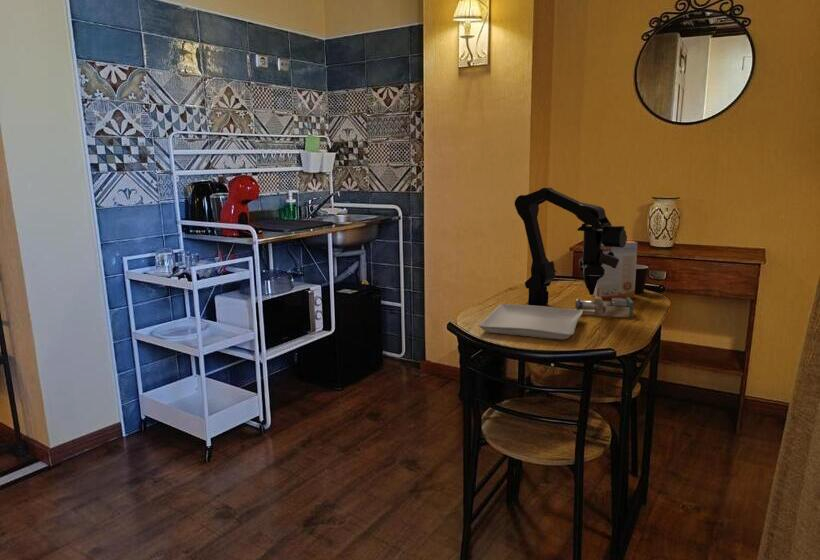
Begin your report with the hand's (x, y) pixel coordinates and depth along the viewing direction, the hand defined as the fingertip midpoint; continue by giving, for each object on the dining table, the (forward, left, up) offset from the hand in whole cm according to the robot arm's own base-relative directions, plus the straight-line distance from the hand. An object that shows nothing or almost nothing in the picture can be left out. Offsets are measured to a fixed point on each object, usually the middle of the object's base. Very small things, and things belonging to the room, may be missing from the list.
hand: (589, 291), depth 190 cm
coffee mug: (+20, +36, -8) cm, 42 cm away
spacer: (+9, 0, -6) cm, 12 cm away
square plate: (-19, -19, -8) cm, 28 cm away
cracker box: (+11, +25, -8) cm, 29 cm away
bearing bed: (+3, 0, -7) cm, 8 cm away
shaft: (+2, 0, -7) cm, 8 cm away
